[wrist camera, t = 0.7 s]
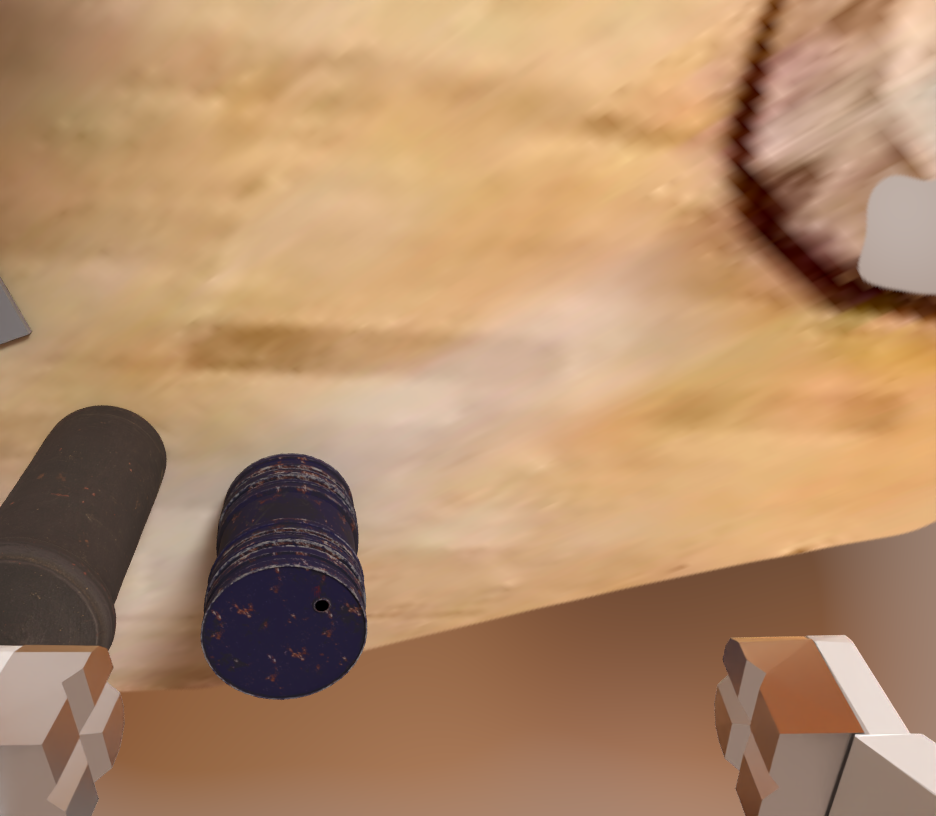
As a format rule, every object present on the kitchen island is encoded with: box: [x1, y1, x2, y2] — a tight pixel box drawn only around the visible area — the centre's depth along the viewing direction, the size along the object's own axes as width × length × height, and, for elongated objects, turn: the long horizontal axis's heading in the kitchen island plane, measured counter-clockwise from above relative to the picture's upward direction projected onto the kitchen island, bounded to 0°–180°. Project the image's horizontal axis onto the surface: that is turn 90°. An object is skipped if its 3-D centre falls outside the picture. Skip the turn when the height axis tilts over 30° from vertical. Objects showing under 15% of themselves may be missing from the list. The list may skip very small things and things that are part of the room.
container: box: [0, 406, 166, 650], centre depth 48 cm, size 9×9×20 cm
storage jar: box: [201, 453, 367, 700], centre depth 55 cm, size 10×10×15 cm
